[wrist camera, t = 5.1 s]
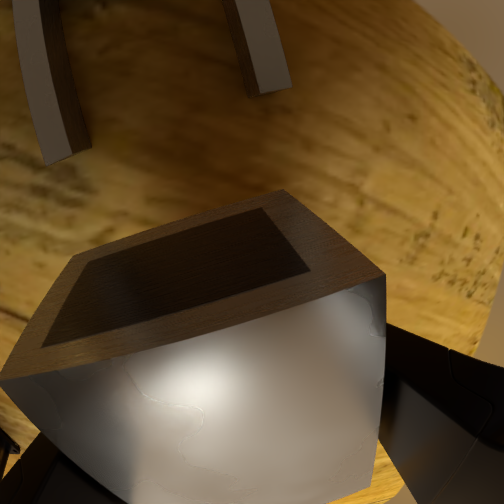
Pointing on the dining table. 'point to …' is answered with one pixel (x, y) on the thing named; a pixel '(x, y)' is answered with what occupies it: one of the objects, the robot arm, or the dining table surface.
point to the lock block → (213, 360)
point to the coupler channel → (62, 85)
